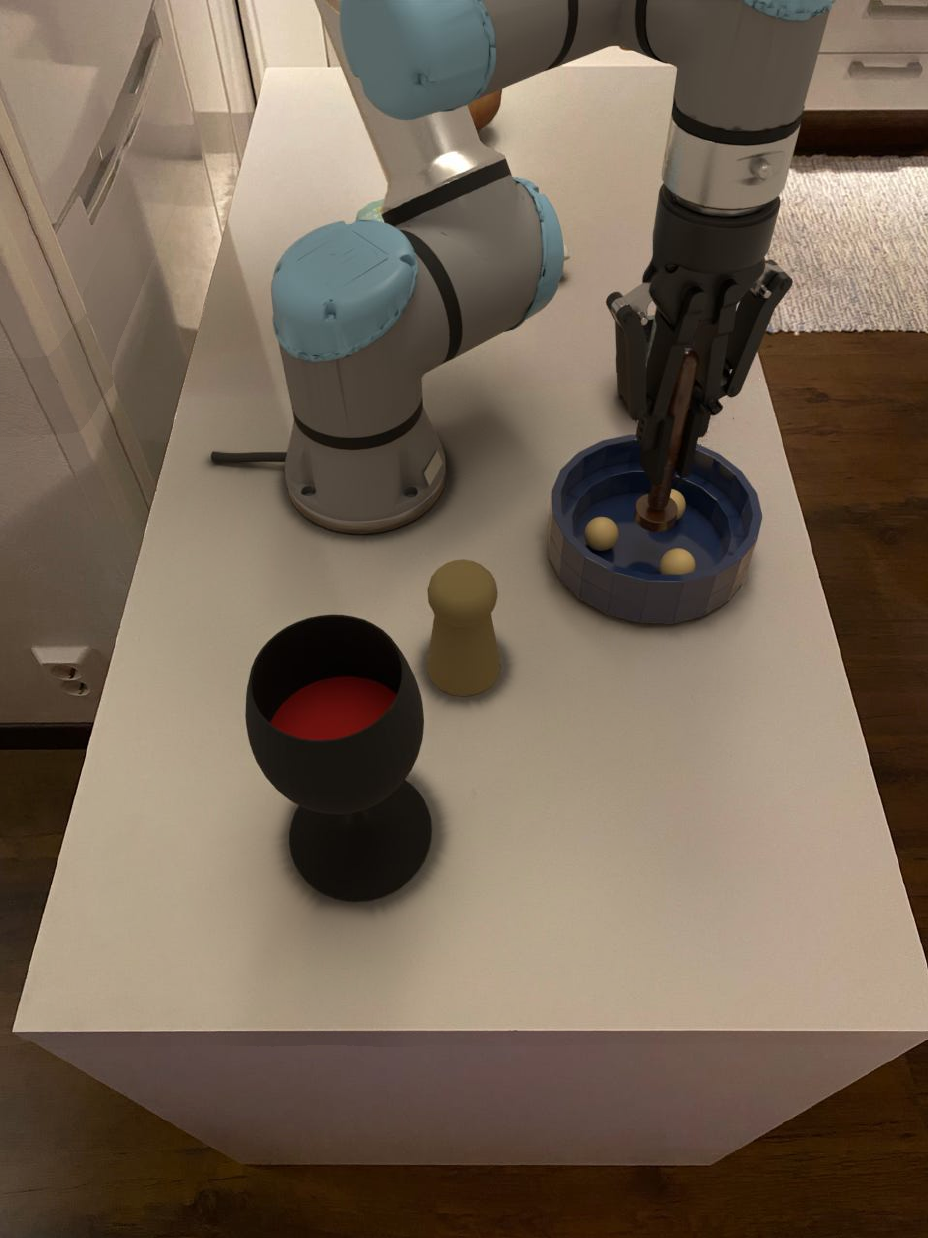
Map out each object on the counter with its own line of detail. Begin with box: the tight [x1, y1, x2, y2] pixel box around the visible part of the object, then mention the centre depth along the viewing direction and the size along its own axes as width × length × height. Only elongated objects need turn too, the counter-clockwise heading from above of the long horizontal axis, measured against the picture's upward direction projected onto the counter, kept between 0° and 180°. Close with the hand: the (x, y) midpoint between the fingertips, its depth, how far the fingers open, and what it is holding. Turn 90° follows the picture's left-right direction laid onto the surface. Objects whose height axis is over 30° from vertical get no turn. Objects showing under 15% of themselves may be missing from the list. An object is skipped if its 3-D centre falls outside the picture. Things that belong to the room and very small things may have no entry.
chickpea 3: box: [660, 548, 696, 575], centre depth 81 cm, size 3×3×3 cm
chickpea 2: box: [670, 489, 686, 520], centre depth 86 cm, size 3×3×3 cm
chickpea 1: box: [584, 517, 618, 551], centre depth 84 cm, size 3×3×3 cm
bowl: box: [547, 434, 763, 625], centre depth 83 cm, size 18×18×6 cm
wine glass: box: [244, 614, 433, 902], centre depth 61 cm, size 10×10×20 cm
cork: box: [426, 559, 502, 697], centre depth 73 cm, size 6×6×11 cm
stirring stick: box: [634, 348, 699, 532], centre depth 75 cm, size 4×4×17 cm
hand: (664, 469), depth 77 cm, fingers closed on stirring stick, 2 cm apart
